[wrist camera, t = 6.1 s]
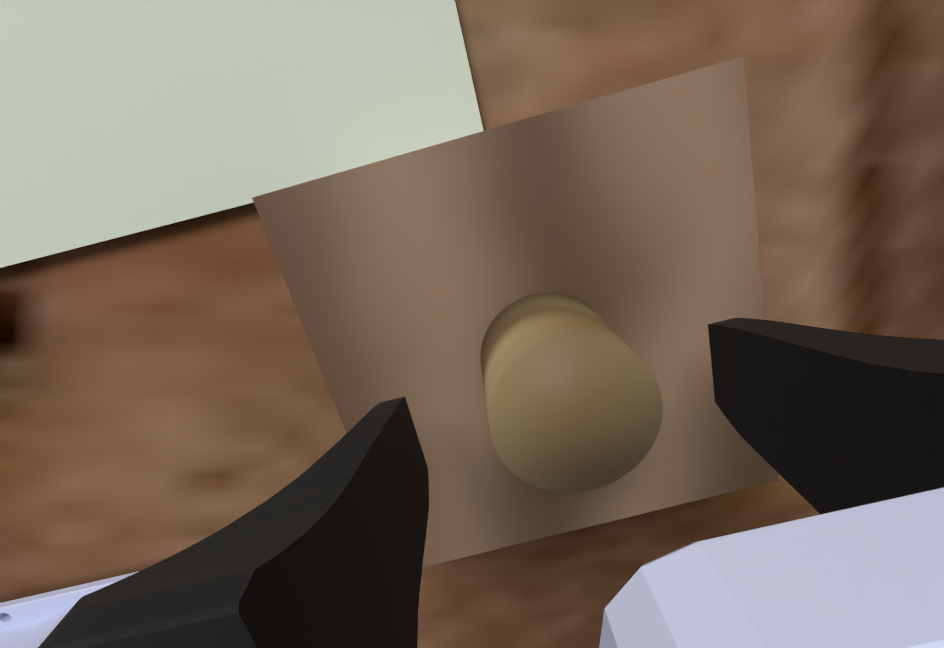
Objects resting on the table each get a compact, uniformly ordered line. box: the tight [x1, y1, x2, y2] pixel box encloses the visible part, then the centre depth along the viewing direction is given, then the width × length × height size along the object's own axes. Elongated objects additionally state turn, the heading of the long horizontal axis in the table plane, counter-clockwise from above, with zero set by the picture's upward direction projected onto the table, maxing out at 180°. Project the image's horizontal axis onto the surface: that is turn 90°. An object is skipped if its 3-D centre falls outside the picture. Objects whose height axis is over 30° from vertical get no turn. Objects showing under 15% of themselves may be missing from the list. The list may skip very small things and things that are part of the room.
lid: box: [252, 56, 778, 567], centre depth 12 cm, size 12×12×4 cm
